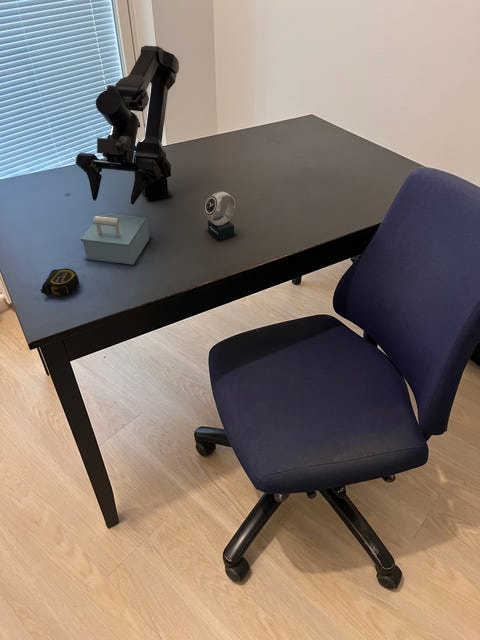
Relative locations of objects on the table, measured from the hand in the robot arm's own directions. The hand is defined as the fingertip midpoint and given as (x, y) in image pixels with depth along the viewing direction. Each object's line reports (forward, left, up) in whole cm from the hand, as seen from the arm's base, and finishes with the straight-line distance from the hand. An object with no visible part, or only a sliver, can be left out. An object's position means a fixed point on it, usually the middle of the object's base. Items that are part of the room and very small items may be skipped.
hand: (112, 202), depth 110 cm
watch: (-25, +7, -12) cm, 28 cm away
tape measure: (+17, +11, -12) cm, 24 cm away
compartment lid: (+1, +1, -7) cm, 7 cm away
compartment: (+1, +1, -12) cm, 12 cm away
